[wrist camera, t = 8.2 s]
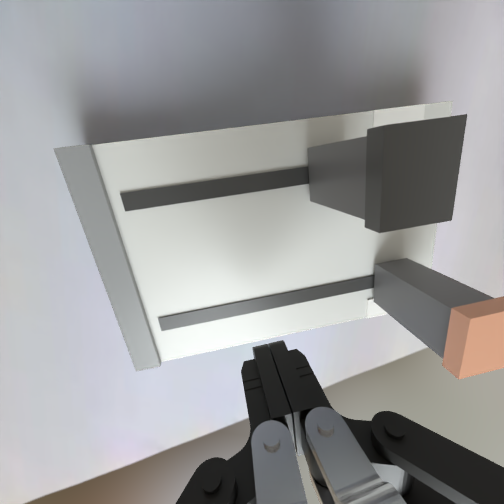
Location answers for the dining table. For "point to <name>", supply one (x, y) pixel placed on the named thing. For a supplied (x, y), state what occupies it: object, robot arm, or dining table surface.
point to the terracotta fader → (443, 315)
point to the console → (231, 234)
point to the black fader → (391, 173)
